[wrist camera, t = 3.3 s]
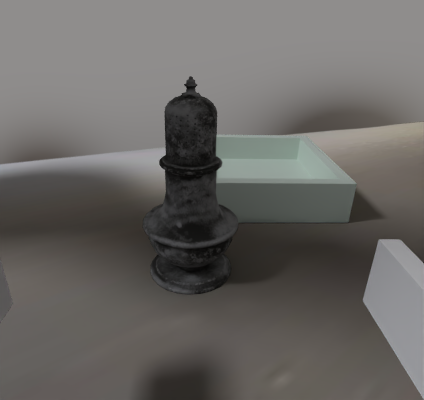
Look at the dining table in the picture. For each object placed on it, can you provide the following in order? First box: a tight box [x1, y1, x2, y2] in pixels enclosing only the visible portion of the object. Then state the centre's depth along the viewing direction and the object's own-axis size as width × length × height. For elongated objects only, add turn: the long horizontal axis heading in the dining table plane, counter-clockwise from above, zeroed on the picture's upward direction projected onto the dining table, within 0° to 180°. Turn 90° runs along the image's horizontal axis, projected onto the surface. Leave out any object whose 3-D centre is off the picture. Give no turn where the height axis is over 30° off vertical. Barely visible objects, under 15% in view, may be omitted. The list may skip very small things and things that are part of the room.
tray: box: [216, 135, 357, 223], centre depth 35 cm, size 14×14×4 cm
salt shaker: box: [143, 77, 239, 294], centre depth 21 cm, size 6×6×12 cm
